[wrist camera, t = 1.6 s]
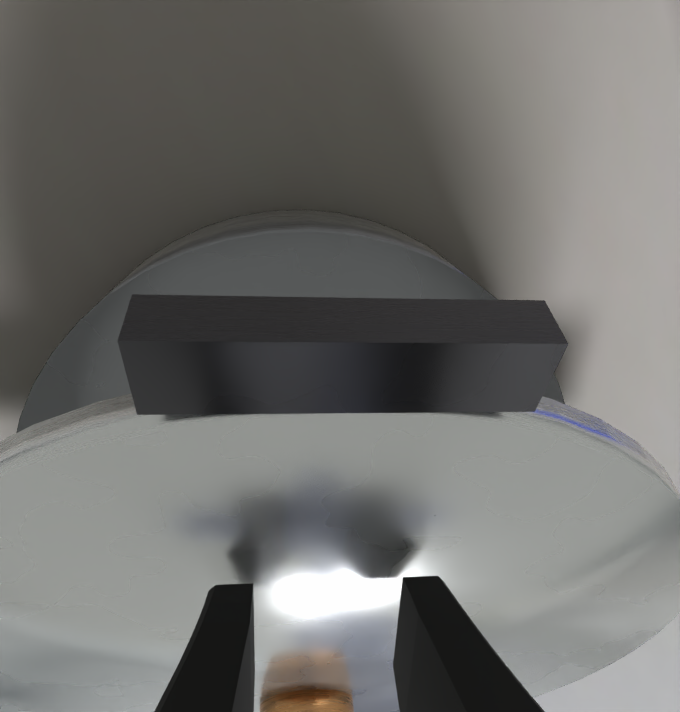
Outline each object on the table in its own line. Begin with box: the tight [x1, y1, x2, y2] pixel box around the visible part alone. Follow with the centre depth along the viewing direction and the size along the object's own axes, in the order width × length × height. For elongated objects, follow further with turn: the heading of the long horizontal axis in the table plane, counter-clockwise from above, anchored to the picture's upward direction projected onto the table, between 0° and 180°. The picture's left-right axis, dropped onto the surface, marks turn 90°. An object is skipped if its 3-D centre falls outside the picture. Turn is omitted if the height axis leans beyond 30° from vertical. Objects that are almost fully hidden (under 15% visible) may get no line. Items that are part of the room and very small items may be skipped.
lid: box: [0, 294, 680, 712], centre depth 12 cm, size 18×17×2 cm
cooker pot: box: [17, 210, 565, 433], centre depth 18 cm, size 18×20×4 cm
